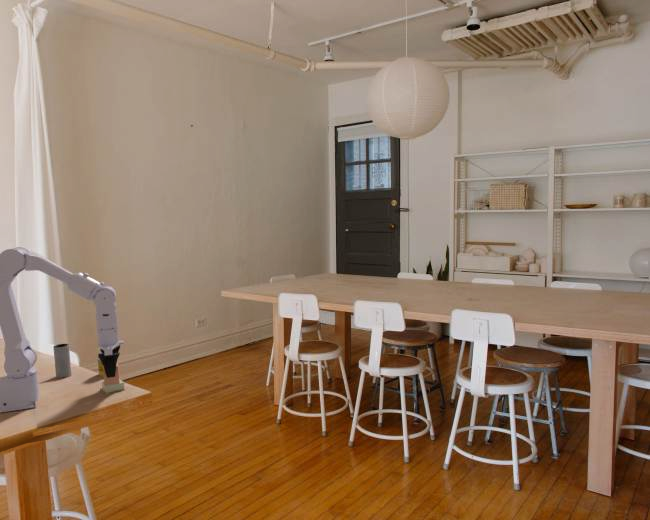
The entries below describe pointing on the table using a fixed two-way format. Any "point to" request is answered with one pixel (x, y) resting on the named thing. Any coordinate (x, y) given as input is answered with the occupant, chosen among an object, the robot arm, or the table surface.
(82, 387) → the table surface
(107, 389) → the top block
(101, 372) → the supplement bottle
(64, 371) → the grey cylinder
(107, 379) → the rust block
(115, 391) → the base block
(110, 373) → the robot arm
